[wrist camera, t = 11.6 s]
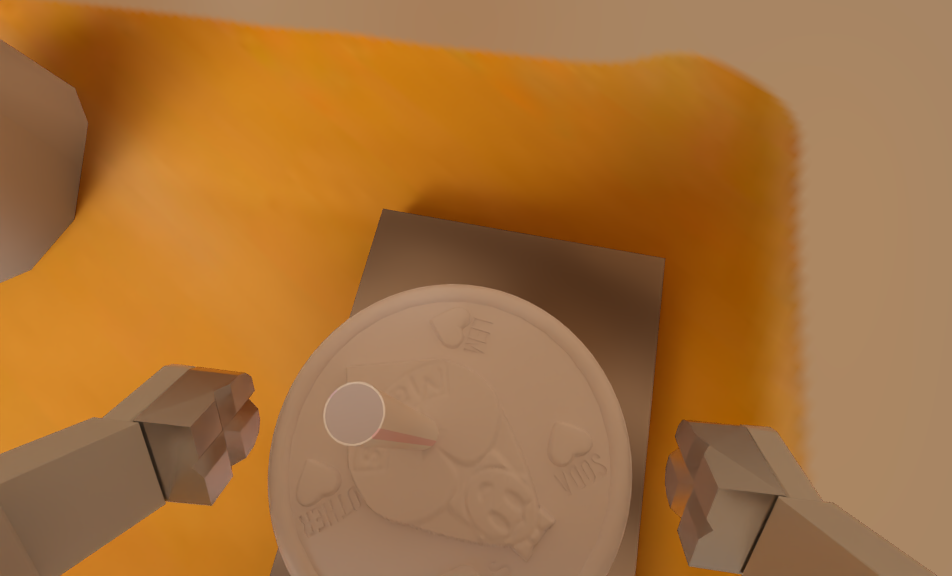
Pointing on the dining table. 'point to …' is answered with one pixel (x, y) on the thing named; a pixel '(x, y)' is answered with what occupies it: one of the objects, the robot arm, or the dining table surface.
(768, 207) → the dining table surface
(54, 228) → the toilet tissue
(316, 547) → the smoothie
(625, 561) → the walnut board
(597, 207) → the dining table surface
